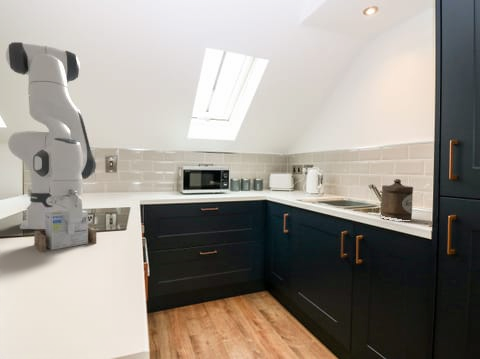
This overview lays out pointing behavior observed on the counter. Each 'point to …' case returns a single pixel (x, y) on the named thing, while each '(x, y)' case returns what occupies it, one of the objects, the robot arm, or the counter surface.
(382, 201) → the wooden container
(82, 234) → the light bulb box
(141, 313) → the counter surface
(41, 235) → the shelf bay
